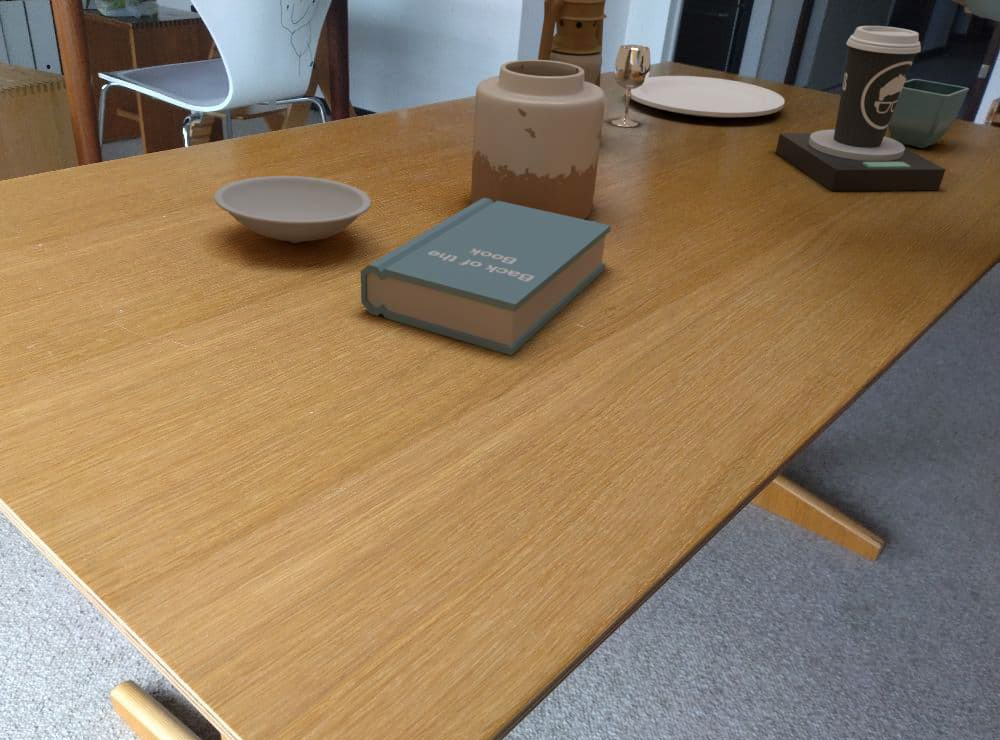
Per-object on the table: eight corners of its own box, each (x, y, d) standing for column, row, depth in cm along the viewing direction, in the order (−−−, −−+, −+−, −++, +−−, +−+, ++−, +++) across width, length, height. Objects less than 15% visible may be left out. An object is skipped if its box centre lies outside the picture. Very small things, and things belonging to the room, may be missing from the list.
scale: (938, 190, 122) (948, 161, 120) (831, 191, 120) (839, 162, 118) (871, 152, 137) (879, 126, 135) (775, 152, 135) (781, 126, 133)
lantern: (552, 126, 144) (571, -83, 128) (612, 136, 140) (640, -78, 124) (512, 147, 133) (528, -79, 116) (576, 159, 128) (601, -73, 112)
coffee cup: (885, 135, 131) (917, 27, 123) (897, 153, 123) (932, 39, 115) (818, 129, 132) (845, 22, 124) (826, 146, 124) (855, 33, 116)
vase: (450, 214, 107) (454, 71, 98) (499, 180, 119) (507, 49, 110) (567, 238, 102) (584, 89, 93) (607, 200, 114) (624, 64, 105)
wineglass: (614, 128, 144) (624, 51, 138) (602, 119, 149) (611, 44, 142) (647, 127, 145) (658, 50, 139) (634, 118, 150) (644, 44, 144)
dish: (190, 249, 95) (184, 204, 93) (261, 208, 107) (258, 167, 104) (335, 278, 90) (333, 232, 88) (393, 232, 102) (393, 189, 99)
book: (511, 355, 78) (515, 304, 75) (361, 310, 84) (360, 262, 81) (604, 269, 95) (610, 225, 92) (474, 237, 101) (476, 195, 98)
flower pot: (874, 141, 143) (891, 84, 138) (898, 133, 148) (914, 77, 143) (928, 154, 137) (947, 95, 133) (951, 145, 143) (970, 88, 138)
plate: (808, 109, 160) (811, 96, 159) (733, 136, 143) (736, 121, 141) (676, 81, 176) (678, 69, 175) (593, 102, 159) (595, 89, 157)
